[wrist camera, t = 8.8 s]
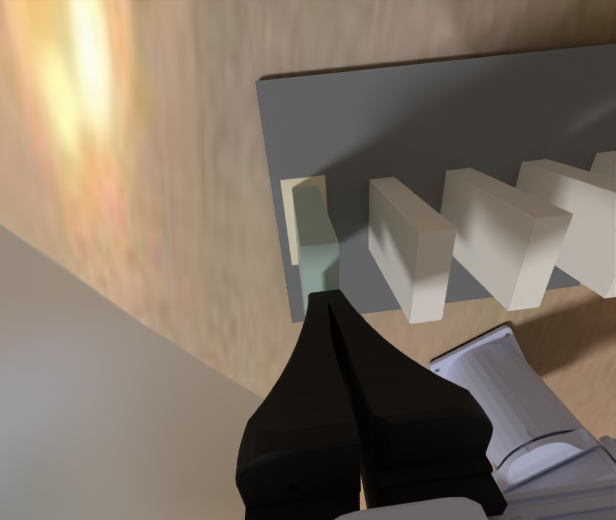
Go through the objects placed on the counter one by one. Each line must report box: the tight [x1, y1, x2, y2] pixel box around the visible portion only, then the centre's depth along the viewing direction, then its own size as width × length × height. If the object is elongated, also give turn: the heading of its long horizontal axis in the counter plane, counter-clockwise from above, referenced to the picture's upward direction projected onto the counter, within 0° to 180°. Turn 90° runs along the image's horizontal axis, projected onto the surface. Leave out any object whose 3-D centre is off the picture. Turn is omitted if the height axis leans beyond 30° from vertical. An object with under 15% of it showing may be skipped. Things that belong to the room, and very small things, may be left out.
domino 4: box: [515, 159, 616, 298], centre depth 18 cm, size 2×5×8 cm, turn 5°
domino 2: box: [369, 177, 457, 324], centre depth 18 cm, size 2×5×8 cm, turn 5°
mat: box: [255, 43, 616, 323], centre depth 21 cm, size 24×17×1 cm
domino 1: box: [292, 186, 339, 316], centre depth 17 cm, size 2×5×8 cm, turn 4°
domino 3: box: [440, 168, 573, 311], centre depth 18 cm, size 2×5×8 cm, turn 6°
